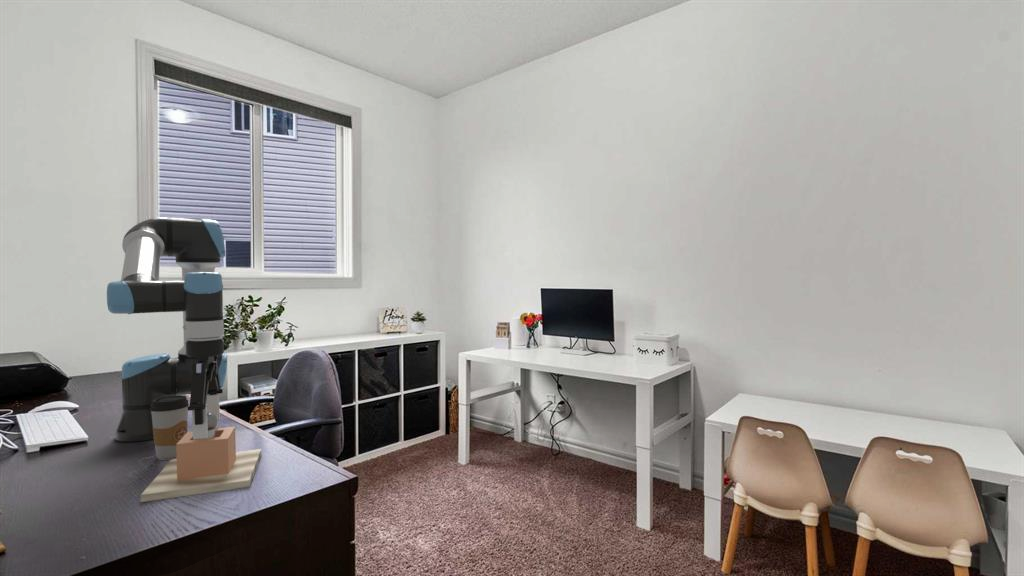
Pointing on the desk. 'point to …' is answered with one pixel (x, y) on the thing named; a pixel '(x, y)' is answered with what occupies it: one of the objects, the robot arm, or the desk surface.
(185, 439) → the open top tan bin
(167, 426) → the coffee cup
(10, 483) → the desk surface
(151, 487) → the wooden peg stand
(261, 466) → the desk surface
